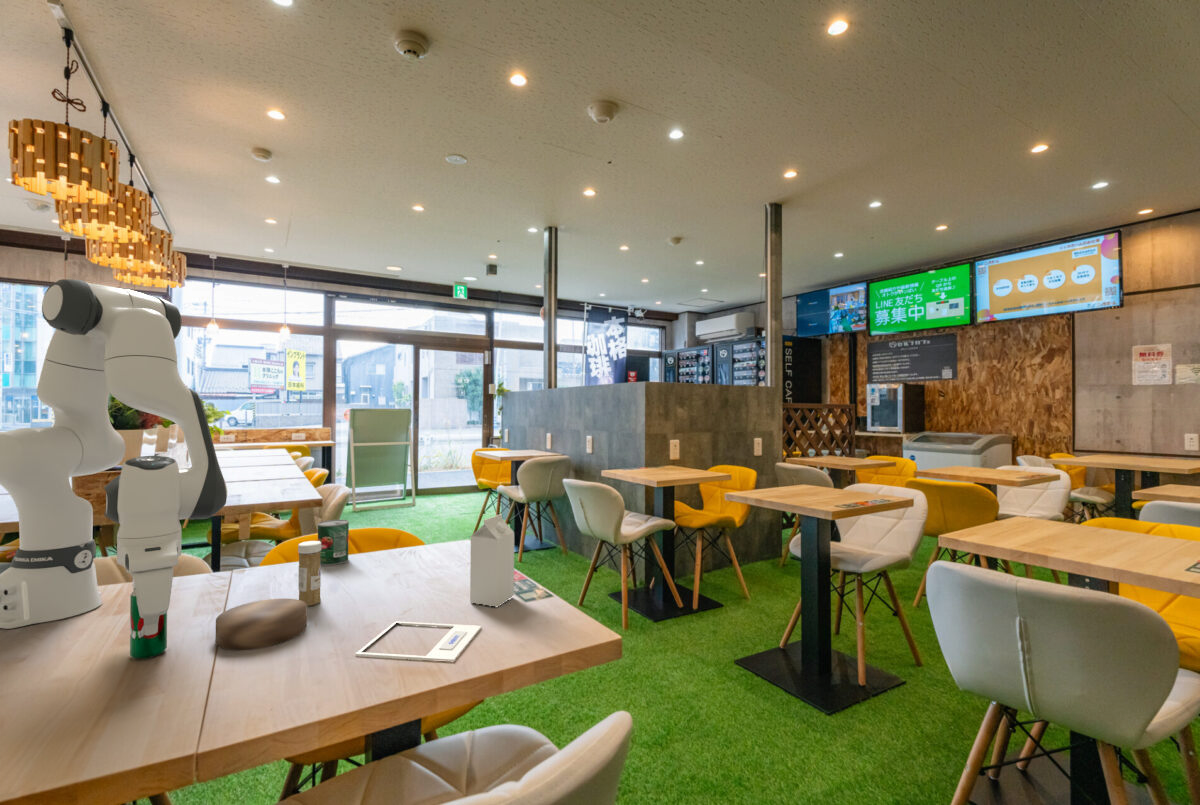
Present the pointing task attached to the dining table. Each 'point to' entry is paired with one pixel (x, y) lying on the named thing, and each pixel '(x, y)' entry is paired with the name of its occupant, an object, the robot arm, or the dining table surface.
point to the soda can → (142, 643)
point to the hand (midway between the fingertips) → (149, 627)
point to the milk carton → (492, 563)
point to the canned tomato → (333, 541)
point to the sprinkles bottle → (309, 572)
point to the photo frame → (443, 650)
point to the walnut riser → (261, 624)
